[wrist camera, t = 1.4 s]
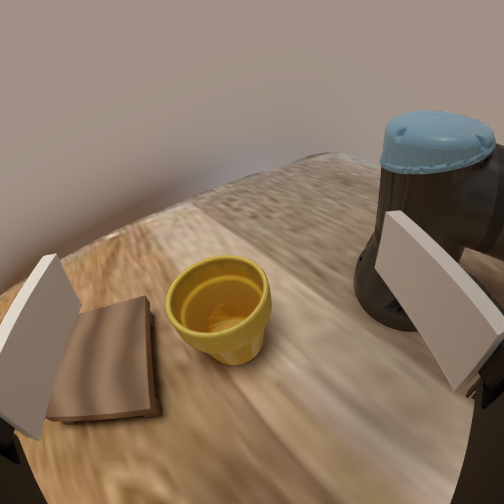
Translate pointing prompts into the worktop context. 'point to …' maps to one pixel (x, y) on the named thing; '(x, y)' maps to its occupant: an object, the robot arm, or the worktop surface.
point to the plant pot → (221, 307)
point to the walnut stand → (107, 366)
